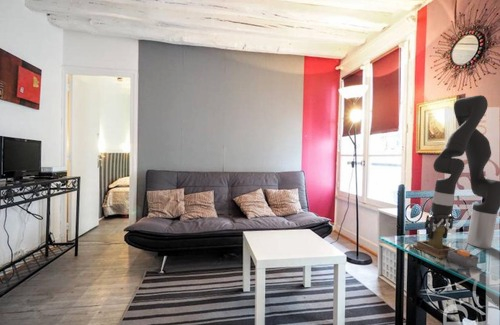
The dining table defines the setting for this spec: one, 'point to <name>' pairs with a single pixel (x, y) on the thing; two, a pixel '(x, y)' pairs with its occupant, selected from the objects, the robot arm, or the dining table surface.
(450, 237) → the dining table surface
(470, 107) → the robot arm
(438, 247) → the khaki rounded elongated piece
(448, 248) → the crate
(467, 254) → the button
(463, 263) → the button housing
